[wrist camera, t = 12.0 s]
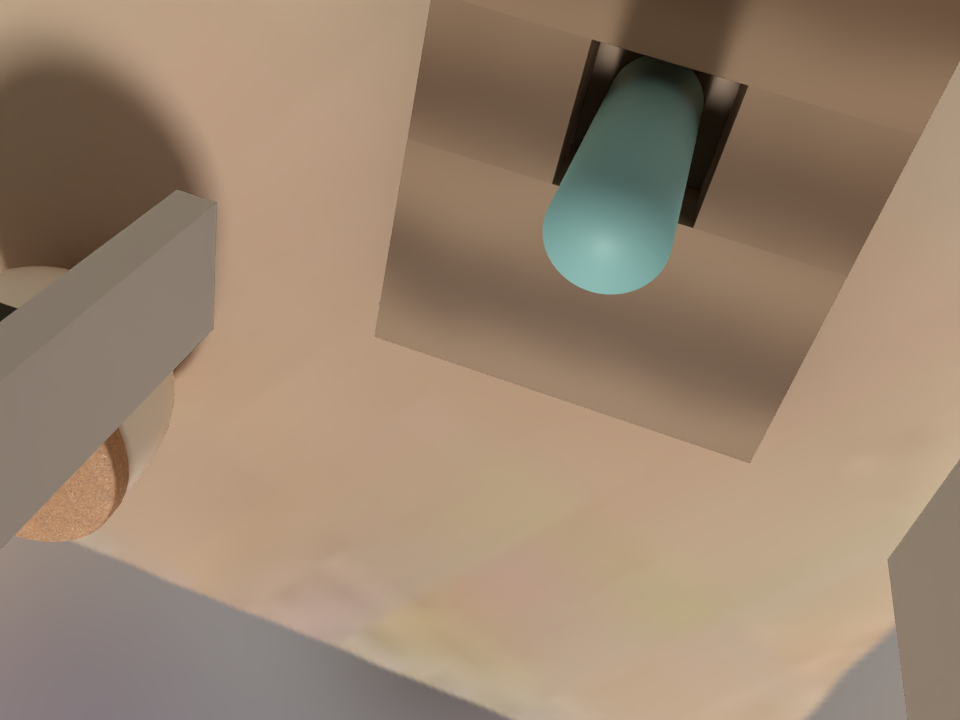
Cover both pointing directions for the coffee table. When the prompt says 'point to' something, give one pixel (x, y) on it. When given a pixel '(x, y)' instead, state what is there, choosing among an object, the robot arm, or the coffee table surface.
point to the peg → (627, 180)
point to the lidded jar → (113, 462)
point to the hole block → (704, 213)
